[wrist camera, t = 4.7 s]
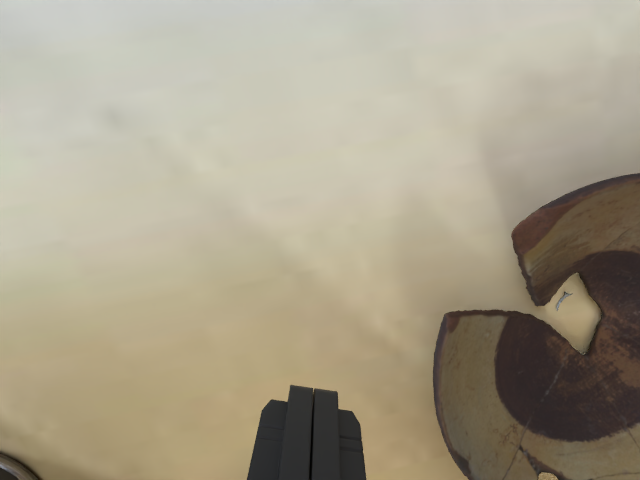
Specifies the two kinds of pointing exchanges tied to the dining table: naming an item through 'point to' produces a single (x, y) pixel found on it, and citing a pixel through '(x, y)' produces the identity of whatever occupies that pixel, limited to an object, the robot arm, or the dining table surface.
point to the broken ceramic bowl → (552, 353)
